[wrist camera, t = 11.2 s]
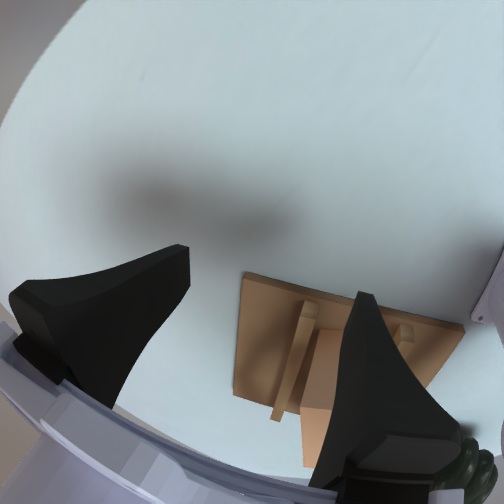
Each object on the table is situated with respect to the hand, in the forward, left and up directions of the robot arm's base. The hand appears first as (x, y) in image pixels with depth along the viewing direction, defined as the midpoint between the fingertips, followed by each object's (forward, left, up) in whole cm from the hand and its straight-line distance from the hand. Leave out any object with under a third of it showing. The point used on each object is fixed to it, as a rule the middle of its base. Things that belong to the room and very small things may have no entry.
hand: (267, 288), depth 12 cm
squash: (-28, +28, -11) cm, 41 cm away
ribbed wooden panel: (-6, +16, -10) cm, 20 cm away
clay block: (-6, +16, -9) cm, 19 cm away
